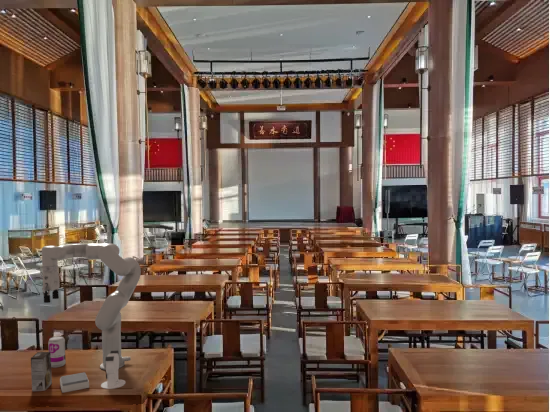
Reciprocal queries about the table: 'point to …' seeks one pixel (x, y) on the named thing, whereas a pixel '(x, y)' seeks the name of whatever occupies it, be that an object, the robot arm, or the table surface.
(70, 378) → the pedestal
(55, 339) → the supplement can
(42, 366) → the coffee box
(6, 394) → the table surface
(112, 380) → the white upright piece
